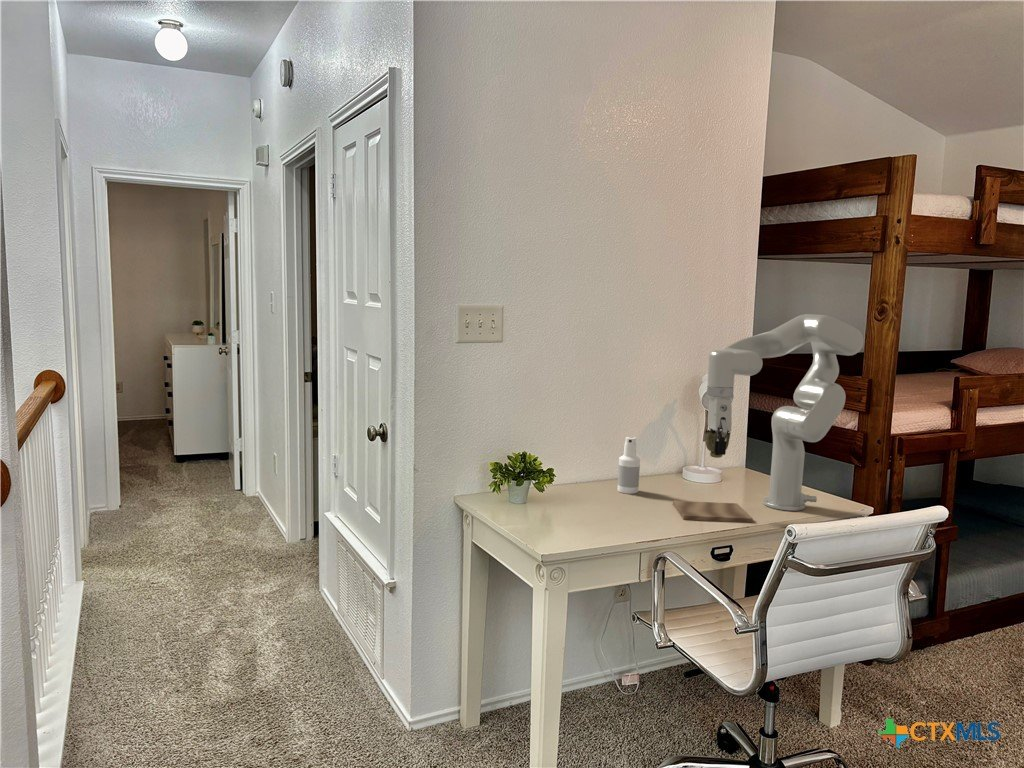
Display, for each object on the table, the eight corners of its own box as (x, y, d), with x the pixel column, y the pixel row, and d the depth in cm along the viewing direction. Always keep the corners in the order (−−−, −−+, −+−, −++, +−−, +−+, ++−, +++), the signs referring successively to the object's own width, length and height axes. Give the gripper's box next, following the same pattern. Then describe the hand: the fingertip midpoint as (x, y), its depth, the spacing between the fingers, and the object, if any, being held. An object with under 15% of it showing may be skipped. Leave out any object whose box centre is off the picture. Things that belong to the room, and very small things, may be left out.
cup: (700, 454, 230) (701, 428, 229) (723, 454, 231) (725, 428, 230) (708, 459, 223) (709, 432, 222) (732, 459, 223) (734, 433, 222)
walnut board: (736, 507, 236) (737, 503, 236) (752, 522, 221) (752, 518, 220) (672, 504, 237) (672, 500, 236) (683, 519, 221) (683, 515, 221)
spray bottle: (616, 492, 248) (619, 438, 246) (618, 487, 255) (621, 435, 253) (637, 494, 246) (640, 440, 244) (638, 489, 253) (642, 436, 251)
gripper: (741, 396, 216) (737, 458, 218) (725, 388, 233) (721, 446, 235) (714, 396, 216) (711, 457, 218) (700, 388, 233) (697, 445, 235)
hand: (716, 451), depth 226 cm, fingers closed on cup, 6 cm apart
